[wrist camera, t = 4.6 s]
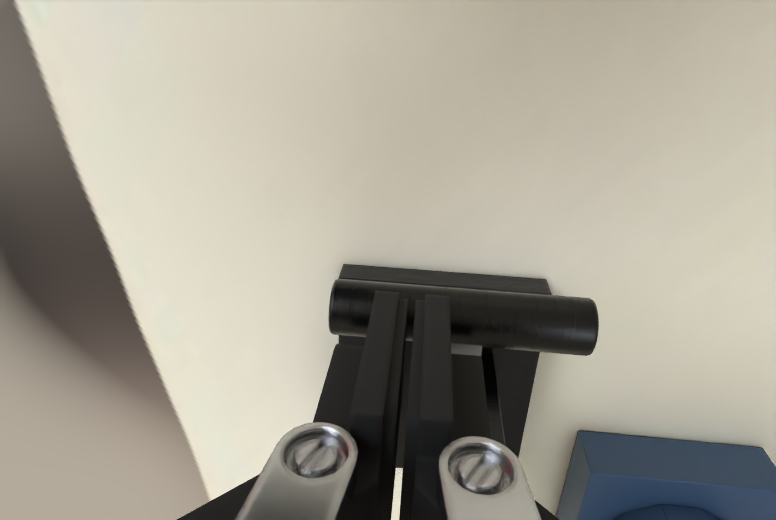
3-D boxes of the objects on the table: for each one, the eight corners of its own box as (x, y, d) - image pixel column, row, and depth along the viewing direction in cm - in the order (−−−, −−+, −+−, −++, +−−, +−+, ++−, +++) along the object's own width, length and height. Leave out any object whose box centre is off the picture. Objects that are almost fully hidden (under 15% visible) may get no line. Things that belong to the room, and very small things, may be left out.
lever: (342, 260, 14) (323, 307, 12) (584, 278, 13) (611, 330, 11) (339, 576, 19) (326, 649, 17) (515, 595, 19) (525, 673, 16)
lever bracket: (343, 263, 25) (257, 507, 13) (546, 278, 24) (639, 548, 13) (343, 443, 30) (280, 731, 18) (511, 459, 29) (554, 767, 18)
